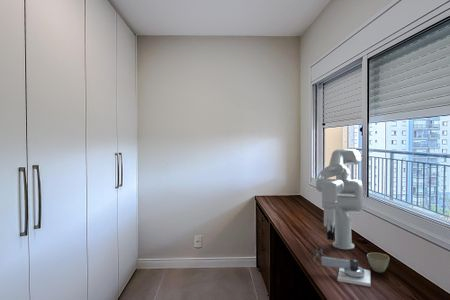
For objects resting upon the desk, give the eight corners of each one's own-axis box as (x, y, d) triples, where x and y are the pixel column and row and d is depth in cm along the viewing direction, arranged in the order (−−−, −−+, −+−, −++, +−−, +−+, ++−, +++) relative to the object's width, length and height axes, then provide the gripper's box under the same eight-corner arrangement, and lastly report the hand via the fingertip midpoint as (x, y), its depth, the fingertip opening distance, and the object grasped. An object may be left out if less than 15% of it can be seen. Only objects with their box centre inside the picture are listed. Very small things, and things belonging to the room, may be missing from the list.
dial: (364, 270, 140) (364, 258, 140) (364, 279, 132) (363, 265, 132) (323, 264, 149) (322, 252, 149) (320, 272, 141) (320, 259, 141)
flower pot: (368, 264, 151) (367, 251, 151) (389, 268, 146) (389, 254, 146) (366, 272, 142) (366, 258, 142) (389, 276, 137) (389, 261, 137)
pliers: (315, 262, 155) (305, 248, 175) (315, 264, 155) (305, 250, 175) (333, 261, 155) (320, 247, 175) (333, 263, 155) (320, 249, 175)
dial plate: (340, 268, 148) (340, 265, 148) (370, 273, 142) (370, 269, 141) (337, 281, 135) (337, 277, 135) (370, 286, 129) (370, 282, 129)
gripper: (324, 201, 157) (325, 234, 157) (320, 207, 144) (321, 243, 144) (338, 202, 153) (339, 235, 154) (335, 208, 140) (337, 244, 140)
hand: (330, 239), depth 149 cm, fingers closed
